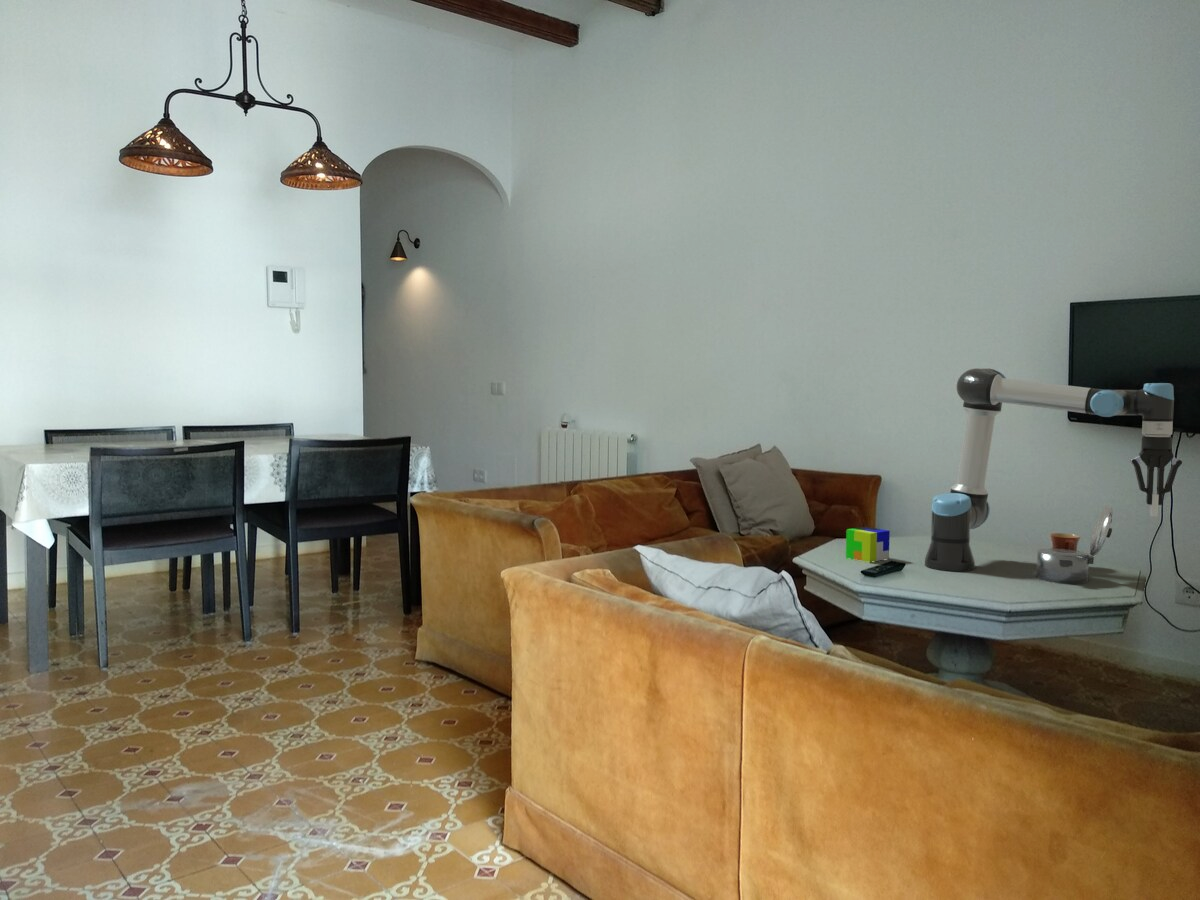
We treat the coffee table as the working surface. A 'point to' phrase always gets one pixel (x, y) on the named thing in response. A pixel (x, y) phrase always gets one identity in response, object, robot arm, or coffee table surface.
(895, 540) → the coffee table surface
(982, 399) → the robot arm
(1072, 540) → the mug
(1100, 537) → the lid
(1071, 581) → the pot
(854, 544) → the puzzle toy
